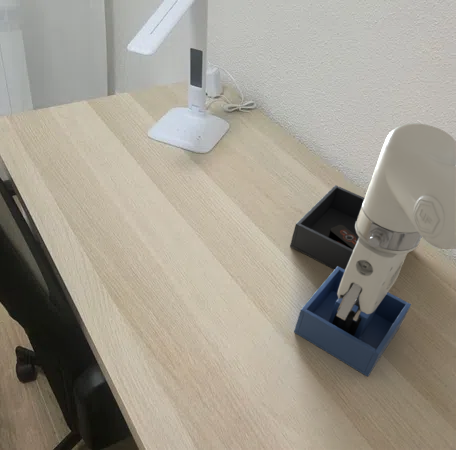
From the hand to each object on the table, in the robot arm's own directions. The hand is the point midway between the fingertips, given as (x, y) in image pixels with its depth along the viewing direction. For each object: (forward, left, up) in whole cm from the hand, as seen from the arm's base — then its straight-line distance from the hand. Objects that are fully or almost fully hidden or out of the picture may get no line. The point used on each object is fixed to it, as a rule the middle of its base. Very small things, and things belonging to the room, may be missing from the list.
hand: (350, 319), depth 78 cm
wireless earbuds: (+6, -15, -2) cm, 16 cm away
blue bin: (0, 0, -2) cm, 2 cm away
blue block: (0, 0, 0) cm, 0 cm away
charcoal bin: (+8, -17, -2) cm, 19 cm away
